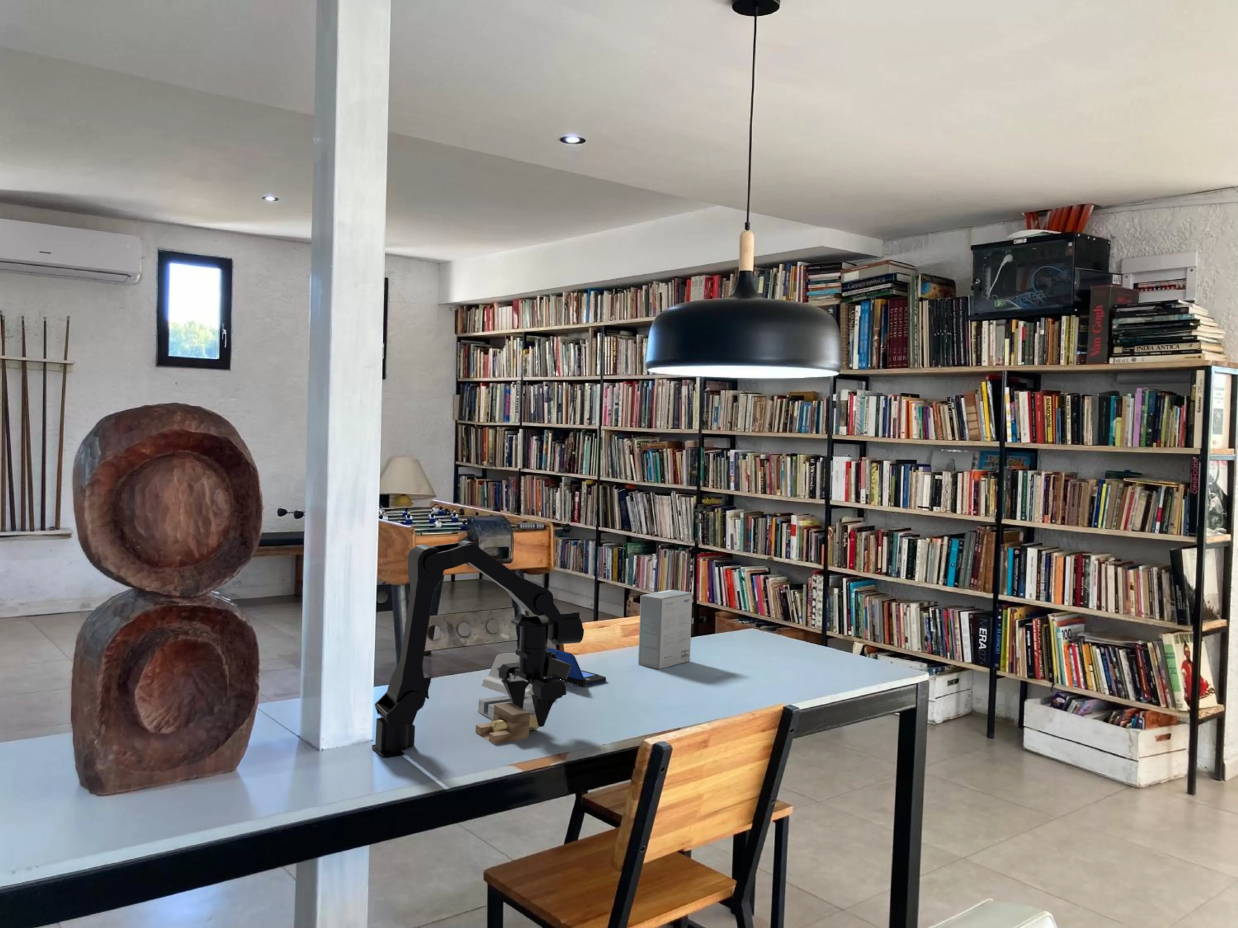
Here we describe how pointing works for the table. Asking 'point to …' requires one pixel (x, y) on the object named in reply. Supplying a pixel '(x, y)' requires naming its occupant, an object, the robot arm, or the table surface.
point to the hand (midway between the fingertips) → (529, 720)
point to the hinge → (493, 678)
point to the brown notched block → (515, 724)
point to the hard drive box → (665, 628)
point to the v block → (488, 703)
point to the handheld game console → (576, 670)
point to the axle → (502, 724)
